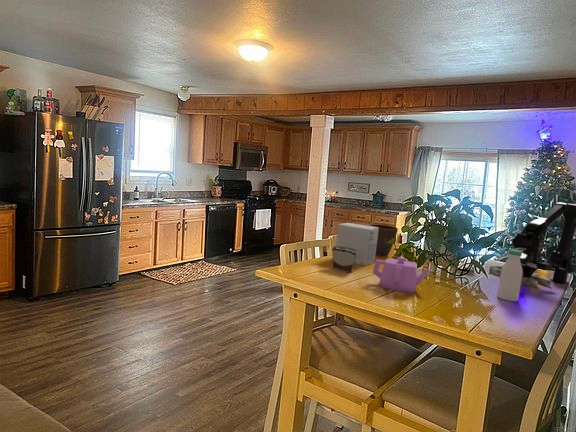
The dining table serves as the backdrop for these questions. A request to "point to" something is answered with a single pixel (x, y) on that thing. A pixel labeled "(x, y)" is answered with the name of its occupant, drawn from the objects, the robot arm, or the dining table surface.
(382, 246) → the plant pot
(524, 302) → the dining table surface
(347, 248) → the food container
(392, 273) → the teakettle
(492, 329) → the dining table surface
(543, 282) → the trap lane
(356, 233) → the supplement box
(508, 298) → the milk bottle
